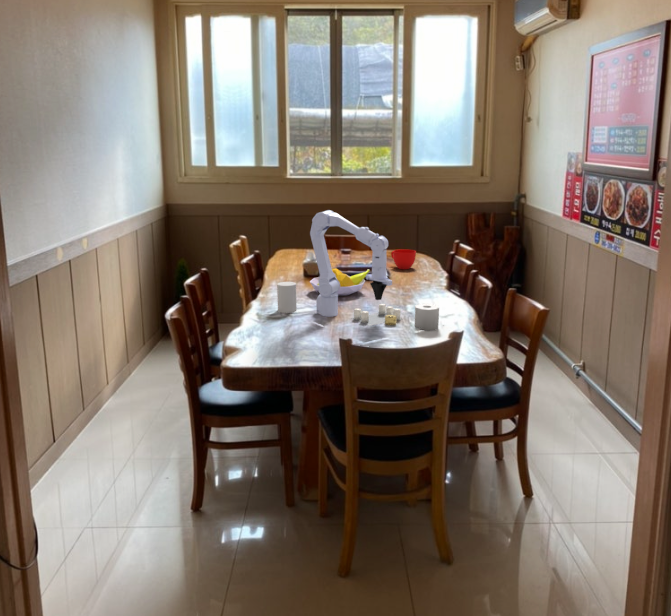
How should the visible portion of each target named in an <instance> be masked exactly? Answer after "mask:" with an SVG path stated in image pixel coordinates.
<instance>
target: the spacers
mask: <svg viewBox="0 0 671 616" xmlns="http://www.w3.org/2000/svg"><path fill="white" fill-rule="evenodd" d="M369 312H370V311H367V310H362V309H361V308H354V309H353V318H354V319H355V320H354V321H356V320H360V319H361V322H363V323H362V324H364V323H367V322H369V315H370V313H369ZM378 313H379V315H385V314H386V315H394V316H396V317H397V319H396V320H397V321H401V320H400V318H401V309H400V308H394V306H387V305H386V304H385V303H379V304H378ZM361 322H360V323H361Z"/></svg>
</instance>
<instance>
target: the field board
mask: <svg viewBox="0 0 671 616" xmlns="http://www.w3.org/2000/svg"><path fill="white" fill-rule="evenodd" d="M385 316H386V314H385V315H379V312H378V313H373V314H371V313H370V314H369V322H367V323H363V322H361V319H360V320H355V319H354V317H352V318H350V320H352V321H353V320H354V321H356V322H359V323H361V324H364V325H366V326H369V327H371V326H376V325H381V324H385ZM401 320H402V318H401V317H400V320H399V321H401ZM396 322H398V320H396Z"/></svg>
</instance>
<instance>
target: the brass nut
mask: <svg viewBox="0 0 671 616" xmlns="http://www.w3.org/2000/svg"><path fill="white" fill-rule="evenodd" d="M396 319H397V317H396V316H394V315H386V316H385V323H384V325H386V326H395V325H397V321H396Z"/></svg>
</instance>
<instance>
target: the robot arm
mask: <svg viewBox="0 0 671 616" xmlns="http://www.w3.org/2000/svg"><path fill="white" fill-rule="evenodd" d="M311 222H312V223H311V228H310V231H309V236H310V239H311V243H312V247H313V252H314V255H315V260H316V264H317V268H318V273H319V276H318V277H319V280H318V281H319V288H318V290H319V292H318V293H319V295H318V296H317V297H316V301H315V302H316V306H315V307H316V308H315V309H316V312H315V313H314V314H319V315H320V316H323V317H330V318H331V317H337V316H338V315H339V296H338V293H337V291H338V290H339V288H340V283H339V281H338V280H337V278H336V275H335V274H334V273H333V272H332V268H333V267H332V264H331V261H330V257H329V256H330V255H329V252H328V248H327V244H326V239H325V233H326V232H327V230H328V229H329V228H330V227H339V228H341V229H343V230H345V231H347V232H349V233H350V234H353V235H354V236H355V239H356V240H357V241H359V242H361V243H362V244H364V245H366V246H367V247H369V248H370V249H371V251H372V255H371V260H372V261H371V262H372V263H371V273H370V274H369V273H367V275H366V277H365V279H366V280H369V281H371V282H370V284H369V285H370V287H371V289H372V291H373V294H374V299H375V300H376V301H380V300H382V299H383V294H384V293H385V289H386V288H387V287H388V286H392V285H393V280H392V279H390V278H389V277H388V276H387V258H388V257H387V249H388V247H389V240H388V239H387V238H386V237H385V236H384V235H380V234H379V233H375V232H373V231H371V230H370V228H369V227H368V226H361V227H359V226H358V225H356V224H354V223H352V222H351V221H349V220H348V219H346V218H344V217H343V216H342V215H340V214H339V213H337V212H334V211H333V210H330V209H327V210H324V211H320V212H316V214H315V215H314V216H313V218H312V219H311Z"/></svg>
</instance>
